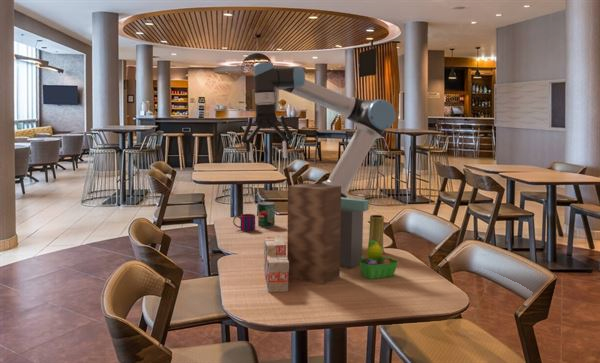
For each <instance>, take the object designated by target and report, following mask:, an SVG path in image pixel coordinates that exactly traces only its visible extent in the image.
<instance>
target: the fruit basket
mask: <svg viewBox="0 0 600 363" xmlns="http://www.w3.org/2000/svg"><path fill="white" fill-rule="evenodd" d="M367 245H368V246H367V249H366V256H367V257H368V258H362V259H361V260H359V263H360V264H359V266H360V271H361V273H362V276H364V277H366V278H367V277H368V278H367V279H369V280H373V279H374V278H375V279H381V278H388V277H393V276H394V274H395V272H396V268H397V266H398V263H399V261H398V260H396V259H394V258H391V257H389V256H382V255H383V254H384V253H383V250H384V248H383V249H382V248H381V246H380V245H379V244H378V243H377V242H376V241H374V240H371V241H369V240H368V244H367ZM387 276H388V277H387ZM380 277H381V278H380Z"/></svg>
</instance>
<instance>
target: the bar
mask: <svg viewBox="0 0 600 363" xmlns="http://www.w3.org/2000/svg"><path fill="white" fill-rule="evenodd" d="M369 202H370V200H369V199H363V198H361V199H360V198H352V197H347V198H344V197H341V209H347V210H356V211H363V212H367V211H369V209H370V208H369V207H370V204H369Z"/></svg>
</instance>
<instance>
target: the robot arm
mask: <svg viewBox="0 0 600 363" xmlns="http://www.w3.org/2000/svg"><path fill="white" fill-rule="evenodd" d="M253 83H254V84H253V85H254V102H255V104H256V105H255V118H254V117H248V118H247V124H246V127H245V129H244V131H243V134H242V136H241V139H240V142H241V143H245V151H246V152H247V153H248V156H249V157H248V160H249V161H251V162H253V160H254V159H253V144H252V143H251V142H252V140H253V139H254V138H255V136H257V135H256V134H257V133H258V132H259V131H260V130H261V129H265V130H266V129H273V130H275V132H276V133H277V134H278V135H279V136H280V137H281V138H282V140H283V141H282V155H283V157H282V158H283V159H287V158H288V154H287V153H288V151H287V150H290V144H289V141H290V140H293V139H294V136H293V135H292V133H291V131H290V129H289V126H288V125H287V123H286V121H285V116H284V115H279V116H277V115H276V114H277V113H276V105H275V103H276V99H275V98H276V97H275V89H277V90H281V91H285V92H286V93H290V94H292V95H295V96H297V97H298V98H301V99H304V100H307V101H309V102H311V103H314V104H316V105H319V106H322V107H324V108H325V109H329V110H331V111H333V112H336V113H339V114H341V115H343V118H345V119H346V120H349V121H351V122H353V123H355V127H356V130H355V132H354V133H353V135H352V137H351V138H350V140H349V142H348V144H347V146H346V147H345V149H344V151H343V153H342V155H340V158H339V160H338V162H337V163H336V165H335V167H334V168H333V170H332V172H331V173H330V176H329V177H328V179H327V180H324V181H322V182H321V184H322V185H334V186H341V197H344V198H348V194H347V193H348V192H347V190H348V188H349V187H350V185H351V184H352V181H353V179H354V178H355V176H356V174H357V172H358V171H359V168H360V167H361V165H362V164H363V161H364V160H365V158H366V157H367V155H368V153H369V151H370V150H371V149H372V148H371V147H372V146H373V144H374V142H375V141H376V140H377V139H380V138H382V136H383V134H384V132H385V131H386V130H387V129H390V127H392V126H393V125H394V122H396V111H395V107H394V106H393V104H392V103H391V102H389V101H388V100H386V99H381V98H380V99H379V98H377V99H372V100H371V99H370V100H369V99H367V100H366V99H361V98H357V97H355V96H352V97H348V96H346V95H344V94H342V93H339V92H337V91H334V90H332V89H329V88H328V87H325V86H322V85H319V84H317V83H315V82H313V81H310V80H308V79H306V74H305V71H304V69H303V67H294V66H293V67H280V68H279V67H274V64H273V63H272V62H257V63H255V64H254V65H253ZM277 121H278V122H279V123H280V125H281V127H282V129H283V131H282V130H281V128H279V126H278V125H277V124H276V123H277ZM254 122H255V123H256V126H255V128H253V130H252V131H251V133H250V130H251V128H252V125H253V124H254ZM284 132H285V133H284ZM249 133H250V134H249ZM248 135H249V136H248Z"/></svg>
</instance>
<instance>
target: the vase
mask: <svg viewBox="0 0 600 363" xmlns="http://www.w3.org/2000/svg"><path fill="white" fill-rule="evenodd" d="M384 217H385V216H384V215H380V214H372V215H370V216H369V234H368V235H369V236H368V242H369V241H371V240H374V241H376V242H377V243H378V244H379V245H380V246H381V248H382V249H383V253H382V254H384V252H385V250H384V223H385V221H384V220H385V218H384Z"/></svg>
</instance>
